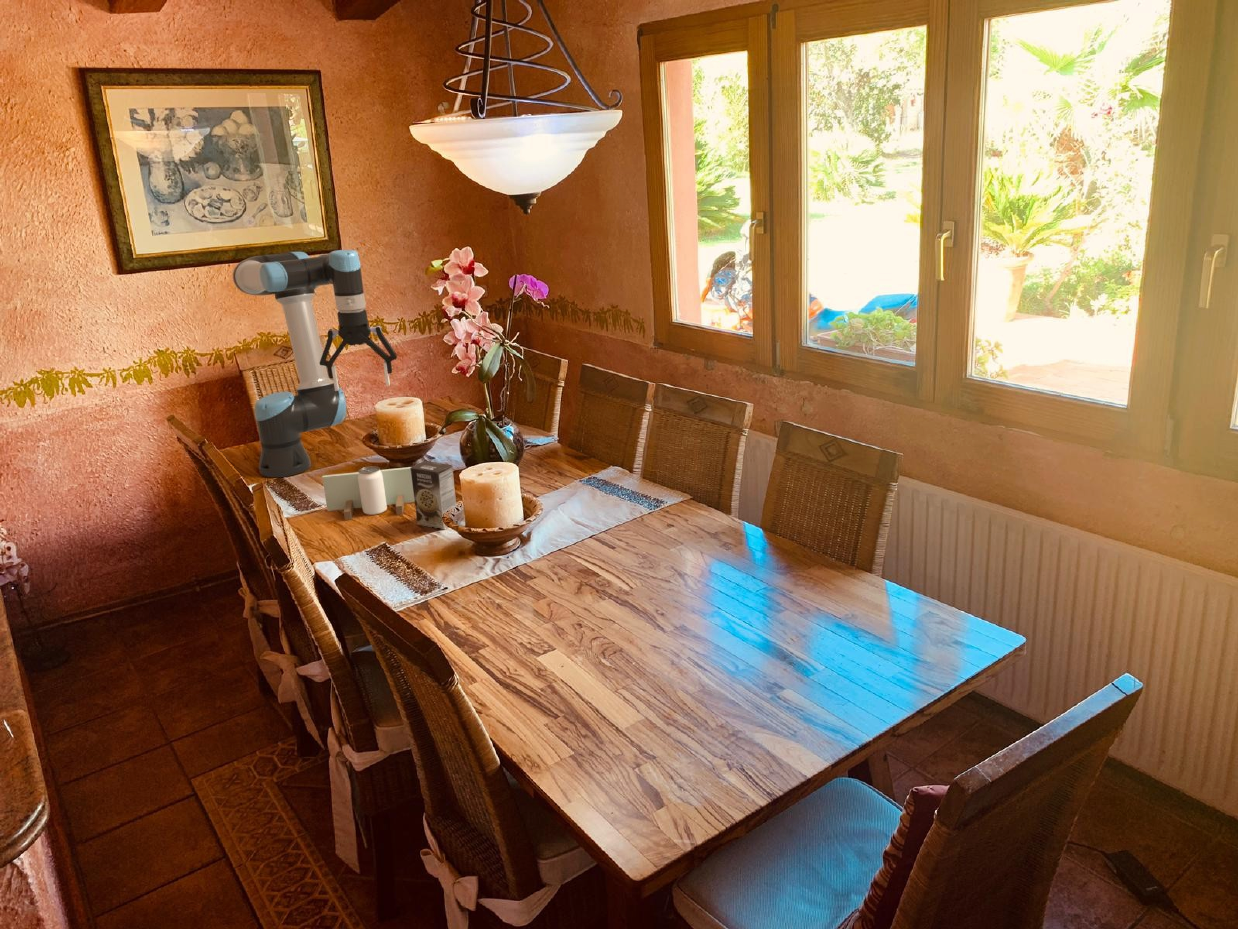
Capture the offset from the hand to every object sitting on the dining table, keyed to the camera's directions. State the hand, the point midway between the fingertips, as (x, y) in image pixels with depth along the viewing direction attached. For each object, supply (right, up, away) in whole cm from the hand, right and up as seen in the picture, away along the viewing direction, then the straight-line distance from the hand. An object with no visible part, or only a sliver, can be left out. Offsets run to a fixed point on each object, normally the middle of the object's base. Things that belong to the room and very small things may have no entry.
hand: (362, 387), depth 252 cm
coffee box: (+22, -37, -9) cm, 44 cm away
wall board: (+3, -34, 0) cm, 34 cm away
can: (+3, -34, 0) cm, 34 cm away
